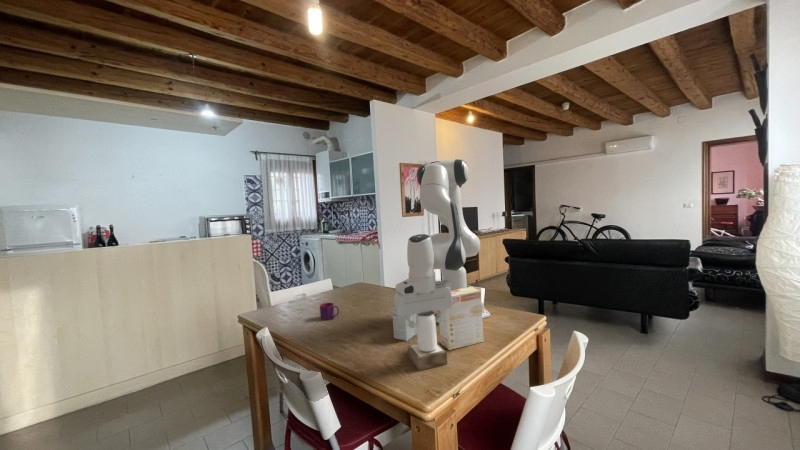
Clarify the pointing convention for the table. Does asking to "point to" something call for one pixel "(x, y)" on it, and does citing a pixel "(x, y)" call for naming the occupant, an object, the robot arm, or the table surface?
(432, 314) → the can
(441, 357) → the base block
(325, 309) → the mug
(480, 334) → the coffeecake box
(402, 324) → the light bulb box
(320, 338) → the table surface
